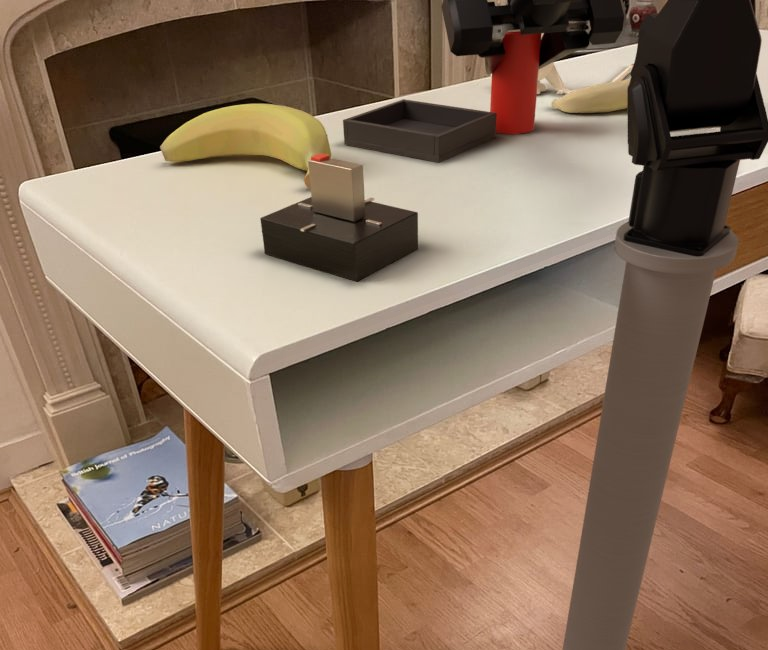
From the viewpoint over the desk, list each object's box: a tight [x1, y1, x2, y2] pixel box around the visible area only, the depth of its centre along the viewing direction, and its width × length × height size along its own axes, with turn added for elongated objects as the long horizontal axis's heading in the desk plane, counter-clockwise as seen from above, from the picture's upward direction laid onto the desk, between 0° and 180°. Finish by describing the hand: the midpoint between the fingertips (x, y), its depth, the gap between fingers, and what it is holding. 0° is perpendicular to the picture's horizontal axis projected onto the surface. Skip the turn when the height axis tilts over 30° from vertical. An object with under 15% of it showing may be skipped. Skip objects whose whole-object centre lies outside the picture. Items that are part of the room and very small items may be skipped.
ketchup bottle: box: [489, 32, 541, 135], centre depth 89 cm, size 5×5×14 cm
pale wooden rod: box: [610, 63, 634, 82], centre depth 110 cm, size 1×19×1 cm, turn 154°
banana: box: [159, 103, 332, 190], centre depth 83 cm, size 14×6×20 cm
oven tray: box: [342, 98, 497, 163], centre depth 90 cm, size 13×11×3 cm
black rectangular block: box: [259, 196, 419, 282], centre depth 65 cm, size 10×9×3 cm
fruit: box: [551, 77, 631, 114], centre depth 99 cm, size 7×15×3 cm, turn 117°
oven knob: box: [308, 153, 366, 222], centre depth 63 cm, size 4×1×4 cm, turn 52°
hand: (511, 68), depth 91 cm, fingers closed on ketchup bottle, 5 cm apart
